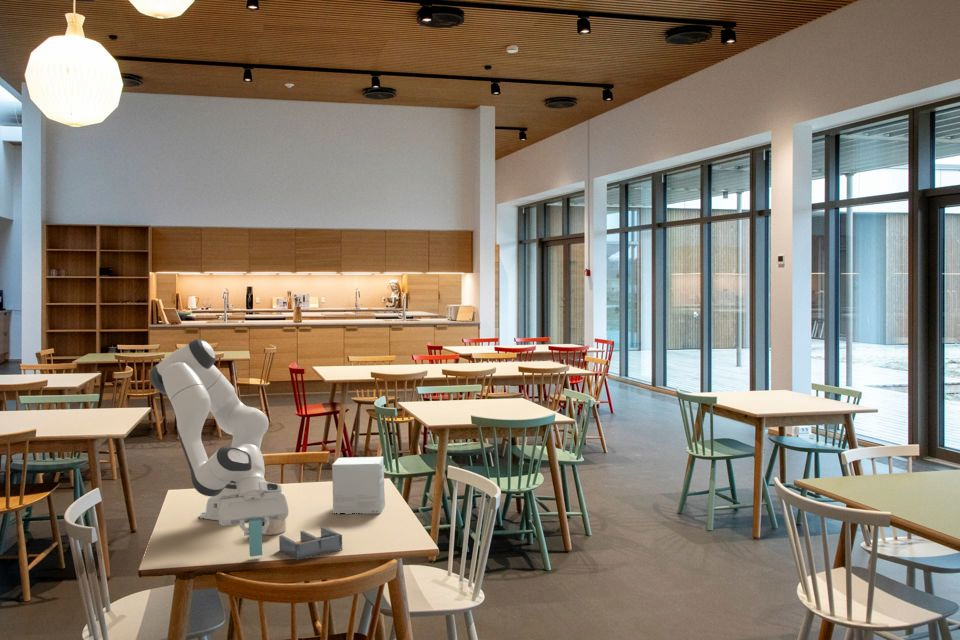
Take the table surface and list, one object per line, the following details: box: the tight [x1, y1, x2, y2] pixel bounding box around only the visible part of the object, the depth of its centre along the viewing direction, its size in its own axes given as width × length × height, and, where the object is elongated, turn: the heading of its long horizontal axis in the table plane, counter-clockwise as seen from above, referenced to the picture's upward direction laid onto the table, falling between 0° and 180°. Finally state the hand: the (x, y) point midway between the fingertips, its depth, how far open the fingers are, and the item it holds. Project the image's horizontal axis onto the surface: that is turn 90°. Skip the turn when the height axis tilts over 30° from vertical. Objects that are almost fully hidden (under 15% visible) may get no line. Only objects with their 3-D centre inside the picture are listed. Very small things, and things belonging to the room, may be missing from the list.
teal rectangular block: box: [248, 519, 263, 557], centre depth 241 cm, size 2×4×10 cm
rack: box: [278, 526, 343, 561], centre depth 249 cm, size 12×15×4 cm
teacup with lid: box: [261, 518, 287, 536], centre depth 268 cm, size 12×9×12 cm
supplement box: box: [331, 456, 386, 515], centre depth 295 cm, size 17×13×18 cm
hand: (255, 533), depth 241 cm, fingers closed on teal rectangular block, 3 cm apart
